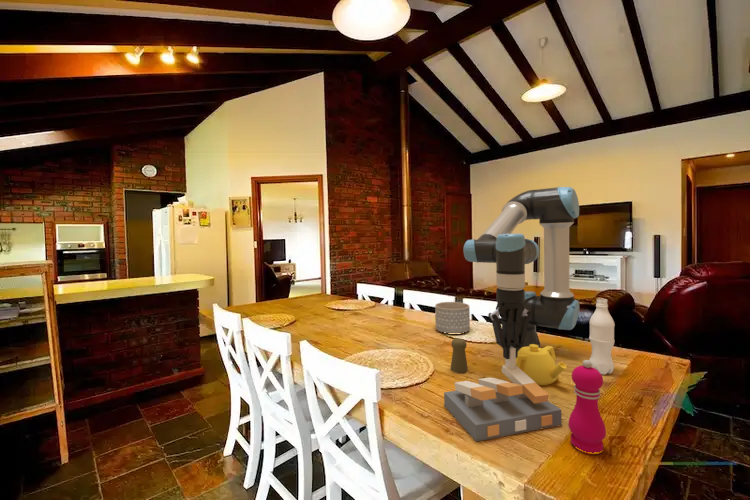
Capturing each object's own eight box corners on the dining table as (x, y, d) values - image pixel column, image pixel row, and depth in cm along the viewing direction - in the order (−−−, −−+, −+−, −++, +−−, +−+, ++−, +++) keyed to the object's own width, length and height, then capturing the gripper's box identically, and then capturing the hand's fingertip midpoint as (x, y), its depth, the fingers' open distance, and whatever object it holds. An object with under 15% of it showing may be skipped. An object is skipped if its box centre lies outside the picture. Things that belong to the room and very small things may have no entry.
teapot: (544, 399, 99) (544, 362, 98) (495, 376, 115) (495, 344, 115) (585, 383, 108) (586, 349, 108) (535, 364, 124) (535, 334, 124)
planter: (435, 335, 161) (435, 309, 161) (435, 325, 178) (435, 301, 177) (471, 336, 159) (471, 309, 158) (467, 326, 175) (467, 301, 174)
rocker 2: (492, 384, 98) (490, 377, 98) (523, 393, 84) (521, 385, 85) (479, 386, 97) (478, 379, 97) (509, 396, 83) (507, 387, 84)
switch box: (517, 394, 102) (517, 373, 102) (562, 425, 86) (562, 400, 85) (444, 406, 97) (444, 383, 96) (476, 442, 80) (476, 415, 79)
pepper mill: (561, 437, 81) (561, 355, 80) (590, 435, 81) (590, 353, 80) (582, 458, 73) (583, 367, 72) (613, 455, 74) (614, 365, 73)
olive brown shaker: (468, 373, 118) (468, 342, 117) (450, 372, 119) (450, 341, 118) (467, 366, 124) (467, 337, 123) (450, 365, 125) (450, 336, 124)
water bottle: (611, 369, 118) (612, 298, 117) (616, 377, 112) (617, 302, 110) (587, 366, 121) (588, 296, 120) (590, 374, 115) (591, 300, 113)
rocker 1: (468, 388, 96) (467, 380, 96) (496, 398, 83) (495, 389, 83) (455, 390, 95) (454, 382, 95) (481, 400, 82) (480, 391, 82)
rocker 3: (513, 369, 100) (514, 363, 99) (547, 401, 87) (548, 394, 86) (501, 371, 99) (502, 365, 98) (534, 403, 86) (535, 396, 85)
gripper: (521, 284, 102) (521, 361, 103) (482, 287, 99) (483, 366, 100) (539, 288, 94) (538, 371, 96) (497, 291, 91) (498, 377, 93)
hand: (510, 369), depth 98 cm, fingers closed
